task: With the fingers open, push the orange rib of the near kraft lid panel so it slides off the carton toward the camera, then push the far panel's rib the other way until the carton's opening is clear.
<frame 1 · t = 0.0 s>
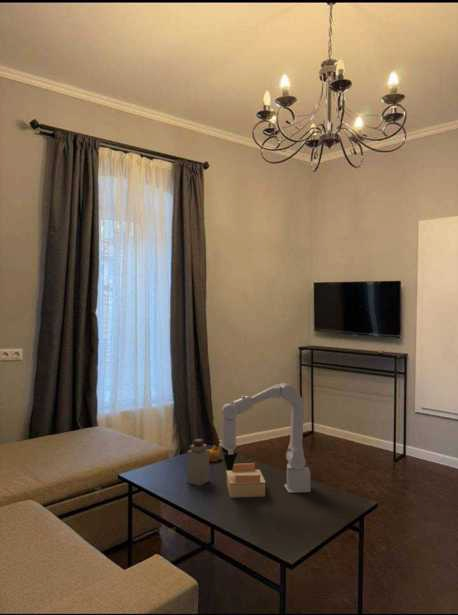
hand: (228, 466, 180), 10 cm above the table, tool pointing down, fingers open, 7 cm apart
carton: (245, 490, 181), on the table
perfume bottle: (198, 482, 190), on the table
near panel: (246, 476, 178), point 7 cm above the table, slide at 0.0 cm
far panel: (244, 470, 185), point 7 cm above the table, slide at 0.0 cm
magic lamp: (210, 460, 219), on the table
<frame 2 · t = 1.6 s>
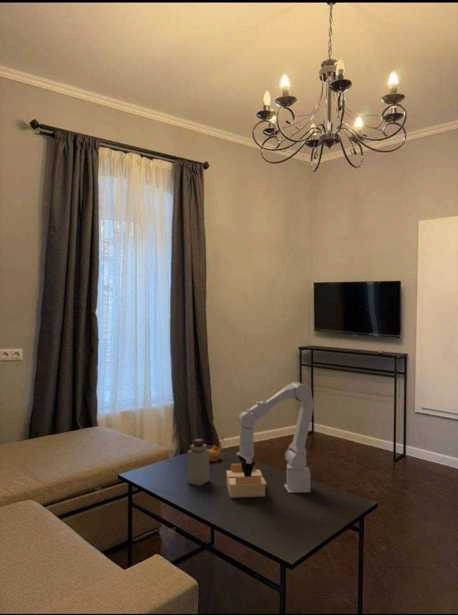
hand: (246, 475, 178), 7 cm above the table, tool pointing down, fingers open, 7 cm apart
near panel: (247, 477, 176), point 7 cm above the table, slide at 1.4 cm, touching gripper
everything else where it was.
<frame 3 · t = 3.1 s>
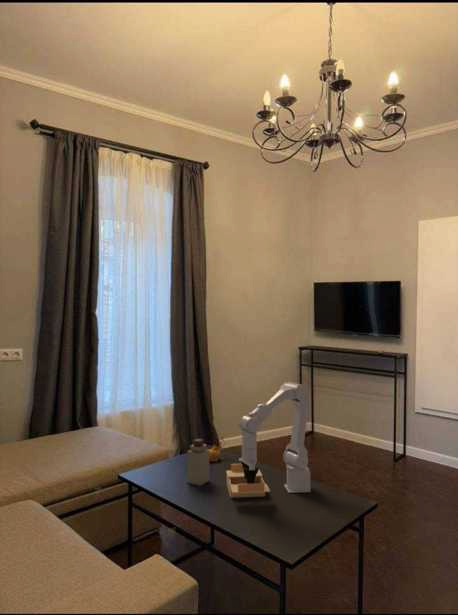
hand: (249, 482, 171), 7 cm above the table, tool pointing down, fingers open, 7 cm apart
near panel: (249, 484, 169), point 7 cm above the table, slide at 8.7 cm, touching gripper
everything else where it was.
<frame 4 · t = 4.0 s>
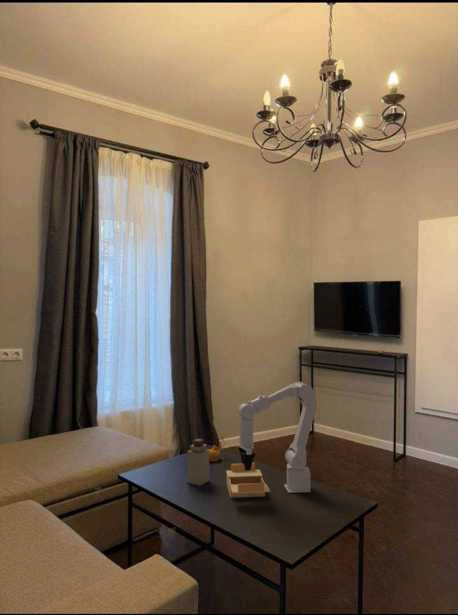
hand: (246, 467, 179), 10 cm above the table, tool pointing down, fingers open, 7 cm apart
near panel: (249, 484, 169), point 7 cm above the table, slide at 8.8 cm
everything else where it was.
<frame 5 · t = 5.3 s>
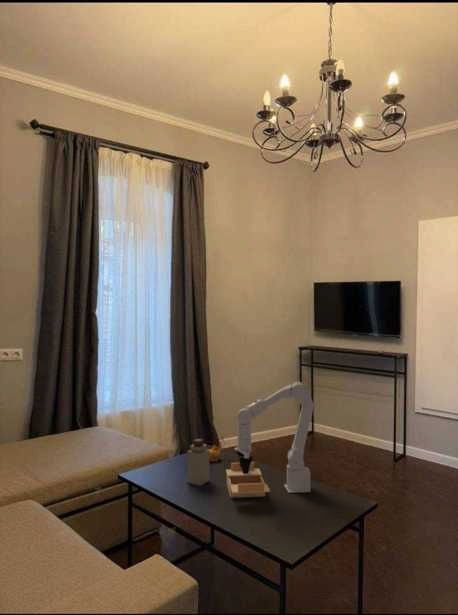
hand: (244, 470, 184), 7 cm above the table, tool pointing down, fingers open, 7 cm apart
far panel: (243, 469, 186), point 7 cm above the table, slide at 1.2 cm, touching gripper
everything else where it was.
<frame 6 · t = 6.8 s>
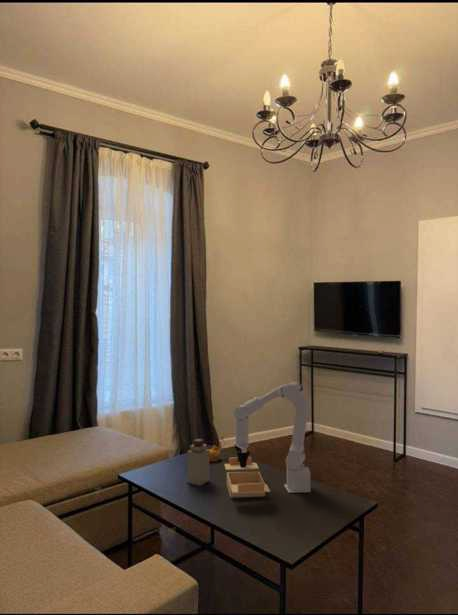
hand: (241, 464, 192), 7 cm above the table, tool pointing down, fingers open, 7 cm apart
far panel: (241, 463, 194), point 7 cm above the table, slide at 8.7 cm, touching gripper
everything else where it was.
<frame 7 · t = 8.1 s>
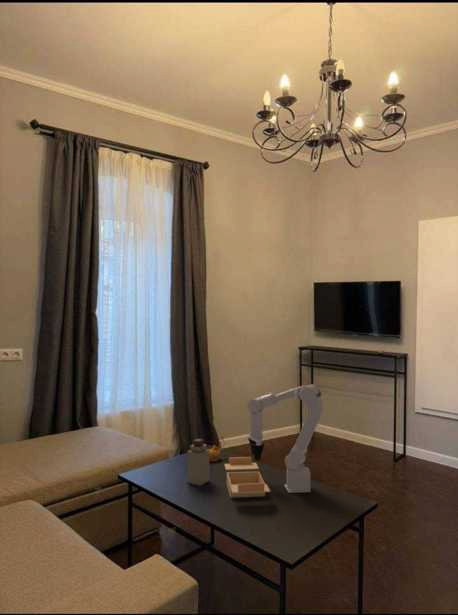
hand: (255, 457, 191), 10 cm above the table, tool pointing down, fingers open, 7 cm apart
far panel: (241, 463, 194), point 7 cm above the table, slide at 8.7 cm
everything else where it was.
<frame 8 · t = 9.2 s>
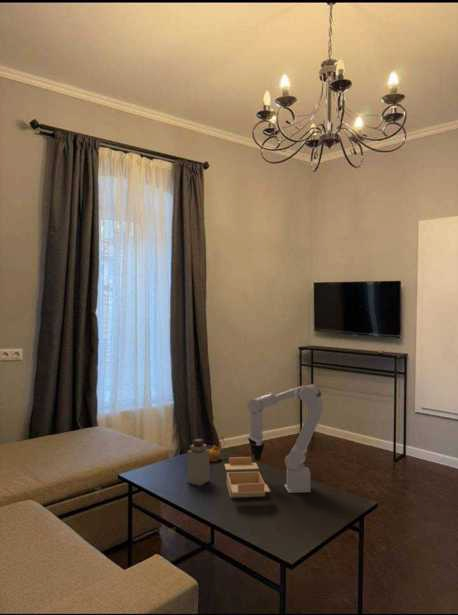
hand: (255, 457, 191), 10 cm above the table, tool pointing down, fingers open, 7 cm apart
nothing on the table moved.
at the end: near panel slide at 8.8 cm; far panel slide at 8.7 cm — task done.
